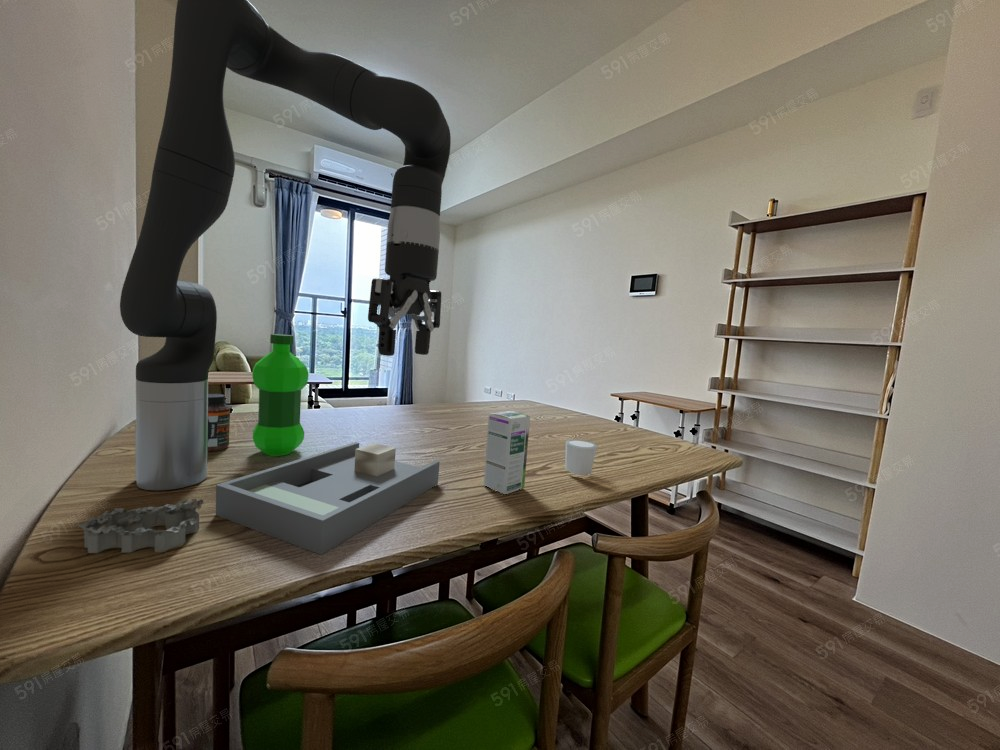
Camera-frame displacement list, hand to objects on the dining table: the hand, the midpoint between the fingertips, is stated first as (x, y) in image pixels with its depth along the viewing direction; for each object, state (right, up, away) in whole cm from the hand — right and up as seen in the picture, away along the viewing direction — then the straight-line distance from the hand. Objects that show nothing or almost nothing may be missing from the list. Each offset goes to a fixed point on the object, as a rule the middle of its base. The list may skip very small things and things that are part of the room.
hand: (404, 354), depth 61 cm
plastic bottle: (-33, -20, +25) cm, 46 cm away
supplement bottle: (-46, -19, +24) cm, 55 cm away
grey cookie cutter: (-30, -24, -10) cm, 40 cm away
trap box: (-12, -23, +6) cm, 27 cm away
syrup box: (+15, -25, +17) cm, 34 cm away
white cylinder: (+32, -25, +28) cm, 49 cm away
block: (-9, -20, +13) cm, 26 cm away
